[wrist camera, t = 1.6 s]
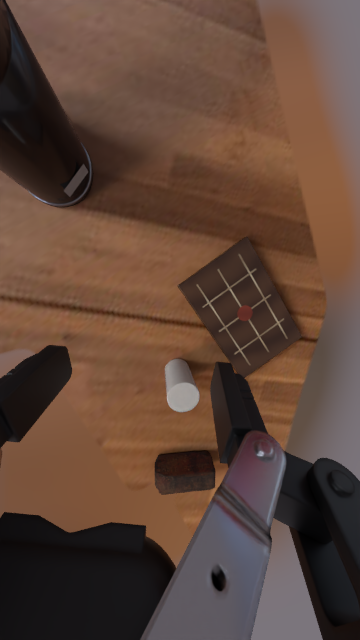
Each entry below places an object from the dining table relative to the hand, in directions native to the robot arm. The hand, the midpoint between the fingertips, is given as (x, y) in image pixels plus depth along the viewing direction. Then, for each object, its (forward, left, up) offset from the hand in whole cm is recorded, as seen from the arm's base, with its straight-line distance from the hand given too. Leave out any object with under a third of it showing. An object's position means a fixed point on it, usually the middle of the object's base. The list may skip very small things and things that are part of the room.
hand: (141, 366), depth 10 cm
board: (+9, +12, -20) cm, 25 cm away
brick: (+27, -13, -20) cm, 36 cm away
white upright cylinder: (+11, -3, -20) cm, 23 cm away
